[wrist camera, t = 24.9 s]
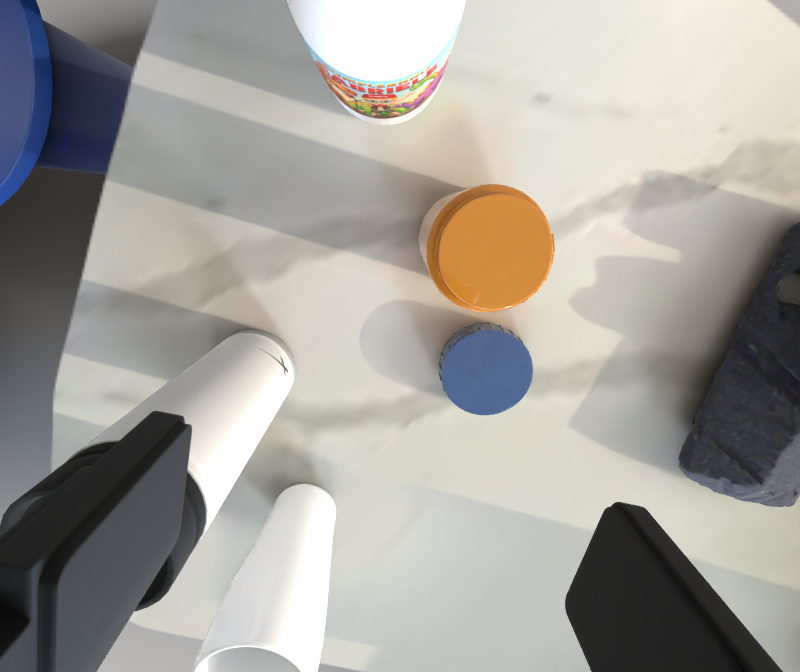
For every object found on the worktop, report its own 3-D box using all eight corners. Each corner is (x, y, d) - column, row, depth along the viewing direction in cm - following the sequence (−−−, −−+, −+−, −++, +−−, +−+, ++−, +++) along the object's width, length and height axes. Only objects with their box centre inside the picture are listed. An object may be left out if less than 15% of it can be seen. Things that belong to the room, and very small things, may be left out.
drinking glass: (343, 542, 39) (311, 738, 25) (266, 536, 39) (189, 731, 24) (347, 475, 37) (316, 646, 23) (267, 469, 37) (183, 638, 22)
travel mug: (303, 334, 34) (177, 504, 14) (289, 411, 35) (160, 653, 16) (222, 315, 33) (-22, 465, 14) (211, 394, 35) (-18, 622, 16)
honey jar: (427, 292, 33) (440, 330, 22) (410, 201, 31) (416, 197, 21) (515, 275, 32) (569, 306, 22) (504, 182, 30) (557, 169, 20)
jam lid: (499, 418, 36) (504, 429, 34) (423, 384, 35) (425, 394, 33) (543, 345, 34) (551, 353, 32) (464, 307, 33) (468, 313, 31)
